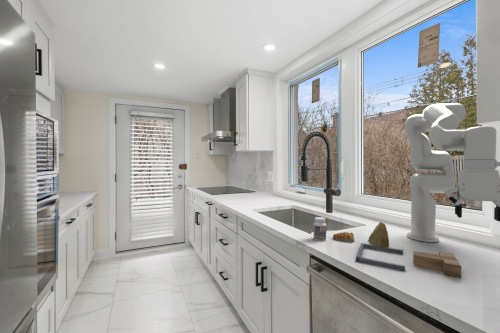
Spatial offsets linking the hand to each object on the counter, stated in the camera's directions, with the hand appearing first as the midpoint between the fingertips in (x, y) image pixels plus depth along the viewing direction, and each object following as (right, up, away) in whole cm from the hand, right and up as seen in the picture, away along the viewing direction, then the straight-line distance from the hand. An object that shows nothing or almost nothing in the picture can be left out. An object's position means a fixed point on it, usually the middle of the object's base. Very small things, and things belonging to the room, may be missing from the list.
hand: (477, 218), depth 78 cm
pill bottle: (-41, -17, +35) cm, 57 cm away
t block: (-10, -18, +6) cm, 21 cm away
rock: (-18, -18, +27) cm, 37 cm away
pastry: (-29, -18, +35) cm, 49 cm away
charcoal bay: (-23, -18, +14) cm, 33 cm away
